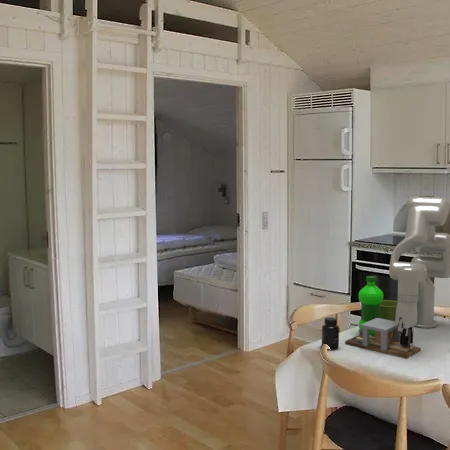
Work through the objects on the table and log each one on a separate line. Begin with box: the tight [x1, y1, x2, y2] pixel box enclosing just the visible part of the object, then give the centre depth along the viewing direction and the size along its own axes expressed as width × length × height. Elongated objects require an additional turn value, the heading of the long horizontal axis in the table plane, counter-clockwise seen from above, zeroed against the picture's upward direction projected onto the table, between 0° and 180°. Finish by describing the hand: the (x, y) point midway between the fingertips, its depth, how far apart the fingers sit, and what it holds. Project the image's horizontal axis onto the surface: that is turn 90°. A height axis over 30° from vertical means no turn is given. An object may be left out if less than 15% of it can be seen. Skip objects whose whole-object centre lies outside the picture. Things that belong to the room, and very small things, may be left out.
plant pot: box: [380, 299, 398, 321], centre depth 266 cm, size 12×12×11 cm
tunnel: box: [361, 318, 400, 351], centre depth 239 cm, size 13×11×8 cm
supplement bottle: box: [321, 316, 340, 351], centre depth 239 cm, size 7×7×12 cm
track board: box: [344, 334, 422, 360], centre depth 240 cm, size 12×27×1 cm, turn 48°
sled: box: [356, 328, 414, 352], centre depth 239 cm, size 6×22×8 cm, turn 48°
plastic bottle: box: [358, 275, 385, 337], centre depth 256 cm, size 10×10×25 cm
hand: (406, 343), depth 232 cm, fingers closed on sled, 3 cm apart
